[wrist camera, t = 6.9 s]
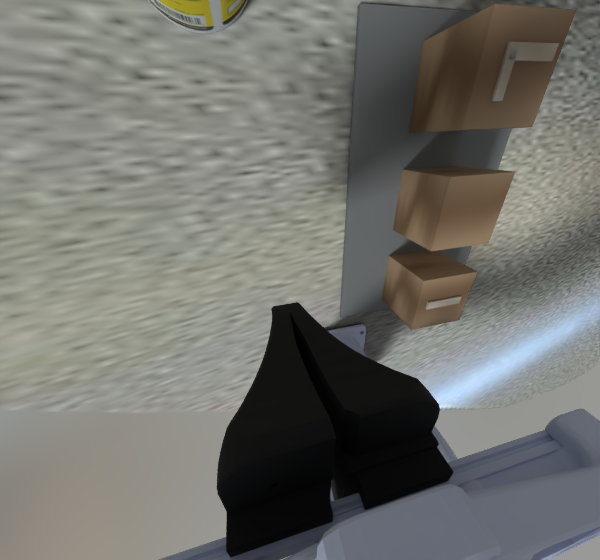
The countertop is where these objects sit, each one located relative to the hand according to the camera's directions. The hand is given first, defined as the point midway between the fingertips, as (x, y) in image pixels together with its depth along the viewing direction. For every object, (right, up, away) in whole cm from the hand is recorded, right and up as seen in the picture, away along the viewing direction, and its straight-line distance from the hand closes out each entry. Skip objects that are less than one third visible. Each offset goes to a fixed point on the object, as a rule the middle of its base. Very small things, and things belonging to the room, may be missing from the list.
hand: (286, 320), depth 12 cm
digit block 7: (+11, +16, +5) cm, 20 cm away
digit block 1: (+12, +3, +13) cm, 17 cm away
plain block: (+11, +9, +9) cm, 17 cm away
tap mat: (+11, +9, +9) cm, 17 cm away
